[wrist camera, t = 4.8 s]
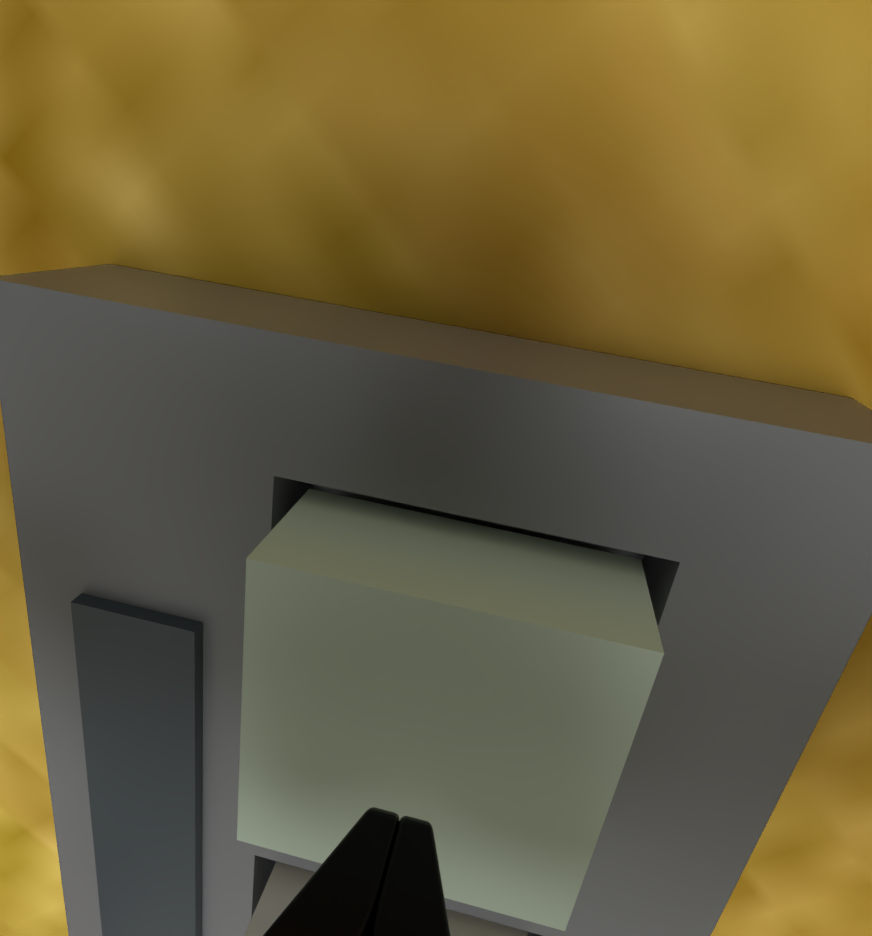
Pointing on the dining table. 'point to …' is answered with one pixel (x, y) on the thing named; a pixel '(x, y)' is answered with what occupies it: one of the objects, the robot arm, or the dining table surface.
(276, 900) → the key offwhite
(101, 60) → the dining table surface
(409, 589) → the key sage
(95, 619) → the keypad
